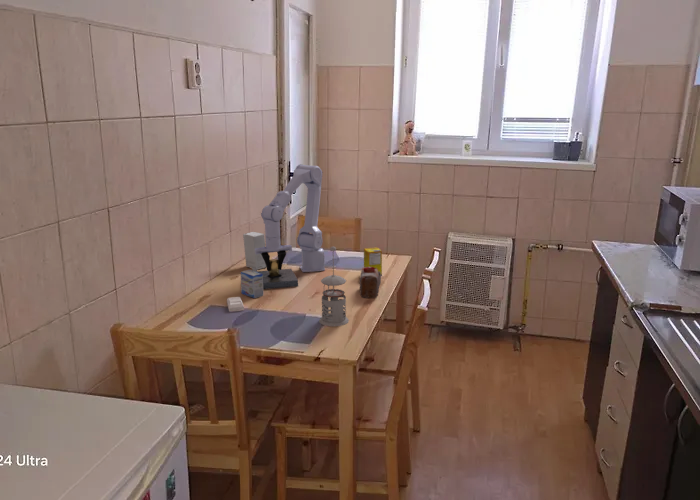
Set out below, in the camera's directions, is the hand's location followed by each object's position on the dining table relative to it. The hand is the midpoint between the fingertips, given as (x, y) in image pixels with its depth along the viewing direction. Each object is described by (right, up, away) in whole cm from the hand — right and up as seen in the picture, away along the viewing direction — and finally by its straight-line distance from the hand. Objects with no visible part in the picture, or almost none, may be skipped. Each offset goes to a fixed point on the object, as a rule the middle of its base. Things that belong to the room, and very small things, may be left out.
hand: (274, 269), depth 223 cm
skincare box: (-11, 0, +22) cm, 24 cm away
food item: (+37, -8, -11) cm, 40 cm away
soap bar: (-10, -13, -25) cm, 30 cm away
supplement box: (+39, -3, +9) cm, 40 cm away
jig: (0, -5, +1) cm, 5 cm away
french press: (+24, -15, -37) cm, 47 cm away
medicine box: (-6, -9, -13) cm, 17 cm away
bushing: (0, -2, +1) cm, 2 cm away
